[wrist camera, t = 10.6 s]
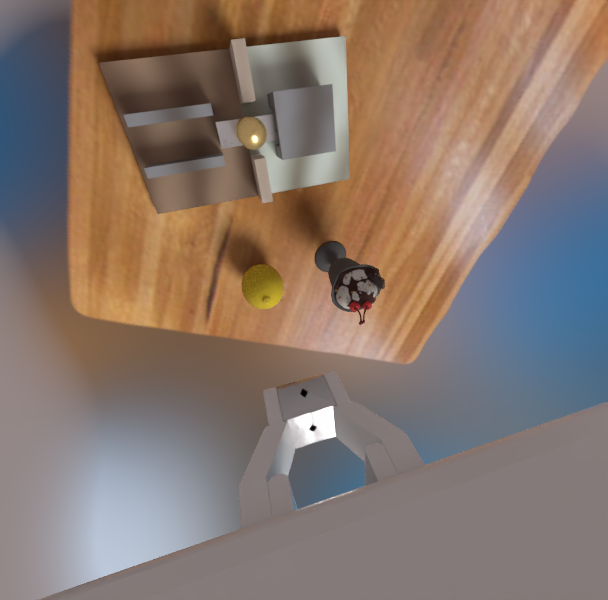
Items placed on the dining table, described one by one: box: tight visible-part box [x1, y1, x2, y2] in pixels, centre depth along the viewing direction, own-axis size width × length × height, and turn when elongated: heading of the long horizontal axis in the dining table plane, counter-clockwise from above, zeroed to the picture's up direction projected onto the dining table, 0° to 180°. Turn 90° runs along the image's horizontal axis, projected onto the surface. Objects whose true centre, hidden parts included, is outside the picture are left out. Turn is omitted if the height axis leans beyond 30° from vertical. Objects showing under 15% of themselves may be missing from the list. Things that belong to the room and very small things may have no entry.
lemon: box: [242, 264, 283, 309], centre depth 40 cm, size 6×6×8 cm
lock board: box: [99, 36, 350, 214], centre depth 31 cm, size 24×14×5 cm, turn 97°
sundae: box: [315, 242, 385, 325], centre depth 38 cm, size 7×7×15 cm
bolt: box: [216, 114, 278, 150], centre depth 30 cm, size 12×3×7 cm, turn 97°
